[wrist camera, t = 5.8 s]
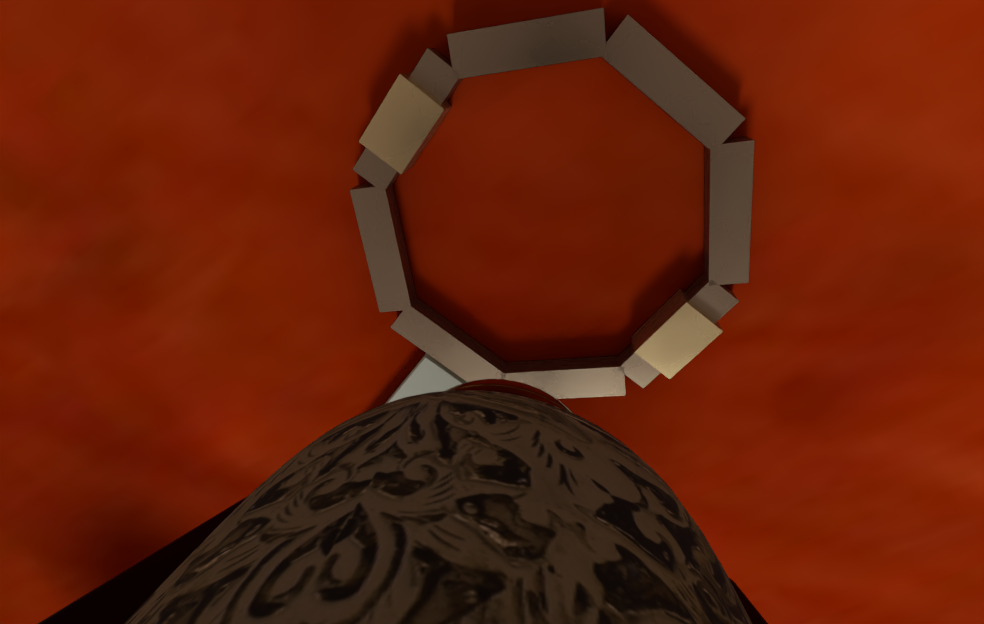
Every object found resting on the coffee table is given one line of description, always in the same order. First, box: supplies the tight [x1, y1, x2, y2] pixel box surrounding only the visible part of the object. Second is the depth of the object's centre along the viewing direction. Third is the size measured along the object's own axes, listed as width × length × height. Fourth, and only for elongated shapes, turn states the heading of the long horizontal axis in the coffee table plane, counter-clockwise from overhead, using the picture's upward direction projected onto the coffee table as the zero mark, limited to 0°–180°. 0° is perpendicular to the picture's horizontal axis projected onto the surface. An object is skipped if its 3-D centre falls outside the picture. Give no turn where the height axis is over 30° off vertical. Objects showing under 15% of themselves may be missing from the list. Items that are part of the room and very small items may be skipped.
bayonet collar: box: [350, 8, 754, 399], centre depth 18 cm, size 13×12×1 cm
